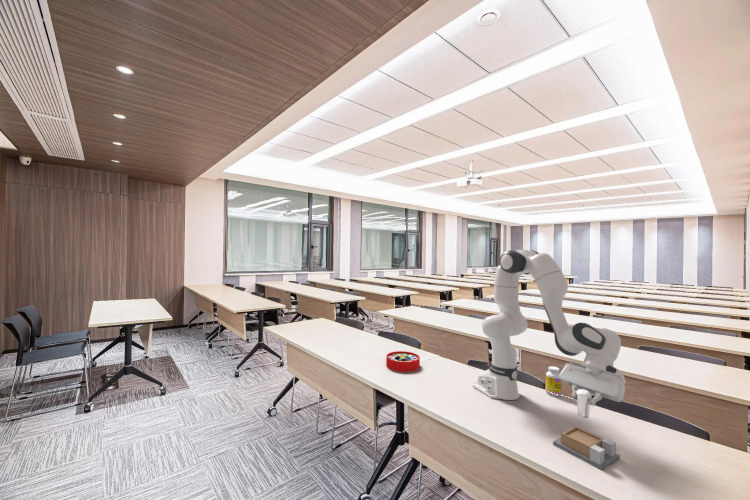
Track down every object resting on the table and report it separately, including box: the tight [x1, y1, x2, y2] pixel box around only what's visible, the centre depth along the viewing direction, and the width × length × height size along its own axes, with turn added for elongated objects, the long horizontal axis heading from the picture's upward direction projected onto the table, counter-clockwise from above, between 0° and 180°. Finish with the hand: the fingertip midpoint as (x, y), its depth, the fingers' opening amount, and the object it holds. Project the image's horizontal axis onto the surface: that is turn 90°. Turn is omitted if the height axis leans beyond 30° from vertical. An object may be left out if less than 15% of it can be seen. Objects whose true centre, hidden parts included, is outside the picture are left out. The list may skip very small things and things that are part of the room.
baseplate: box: [552, 425, 621, 472], centre depth 113 cm, size 16×12×5 cm
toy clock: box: [385, 350, 421, 373], centre depth 194 cm, size 20×6×20 cm
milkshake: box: [574, 387, 592, 419], centre depth 115 cm, size 4×5×10 cm
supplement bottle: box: [545, 365, 562, 397], centre depth 159 cm, size 7×7×13 cm
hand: (582, 401), depth 115 cm, fingers closed on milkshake, 4 cm apart
